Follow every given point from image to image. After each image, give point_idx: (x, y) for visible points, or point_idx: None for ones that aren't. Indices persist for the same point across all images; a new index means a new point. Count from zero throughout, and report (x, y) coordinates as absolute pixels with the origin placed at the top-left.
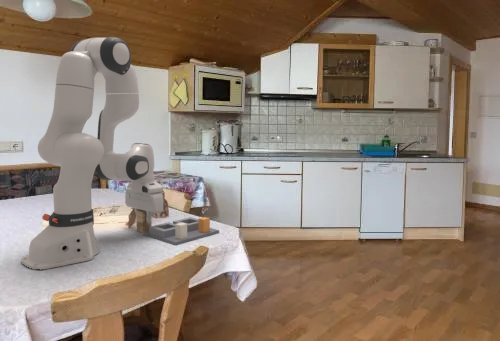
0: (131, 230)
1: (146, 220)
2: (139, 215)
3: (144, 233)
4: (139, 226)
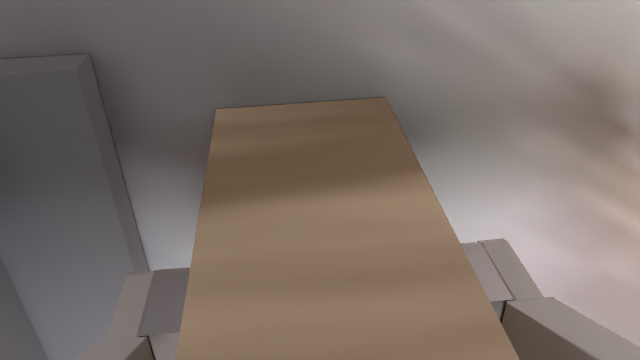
0: (475, 49)
1: (145, 291)
2: (329, 300)
3: (46, 66)
4: (315, 144)
